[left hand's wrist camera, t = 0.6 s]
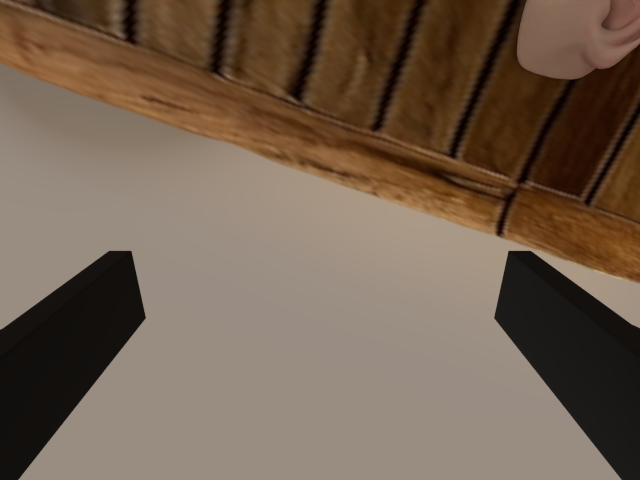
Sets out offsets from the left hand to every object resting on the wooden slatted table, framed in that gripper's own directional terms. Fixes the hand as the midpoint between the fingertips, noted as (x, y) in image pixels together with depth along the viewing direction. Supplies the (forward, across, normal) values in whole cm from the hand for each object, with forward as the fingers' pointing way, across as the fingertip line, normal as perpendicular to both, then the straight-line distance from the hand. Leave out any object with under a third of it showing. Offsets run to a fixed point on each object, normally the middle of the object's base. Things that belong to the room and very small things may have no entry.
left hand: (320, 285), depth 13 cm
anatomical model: (+28, +25, +14) cm, 40 cm away
